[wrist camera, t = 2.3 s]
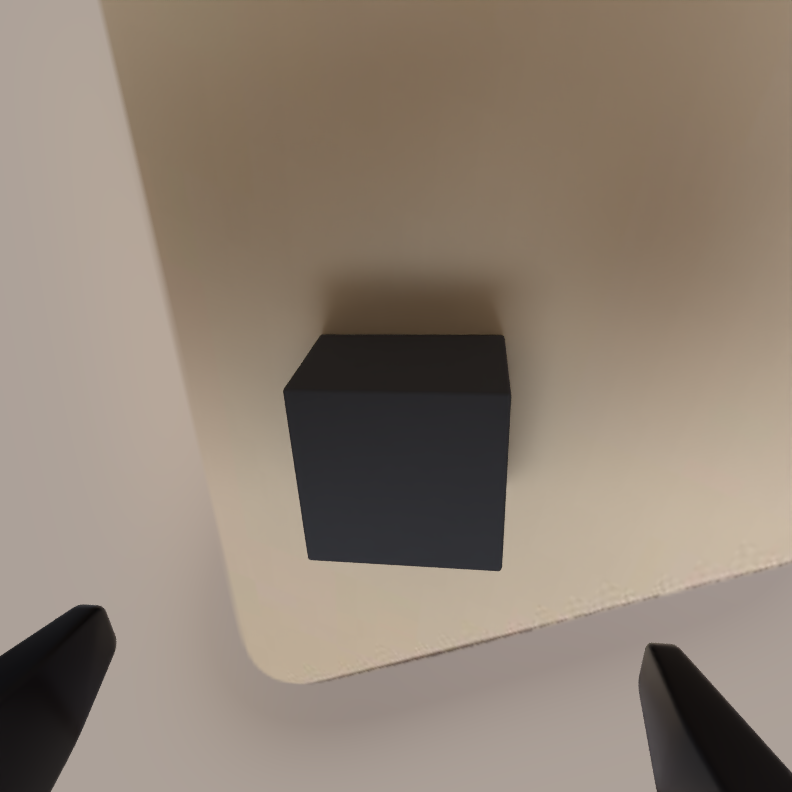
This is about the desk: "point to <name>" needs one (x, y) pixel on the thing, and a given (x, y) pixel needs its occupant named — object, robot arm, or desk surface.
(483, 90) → the desk surface
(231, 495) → the desk surface
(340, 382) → the black cube
